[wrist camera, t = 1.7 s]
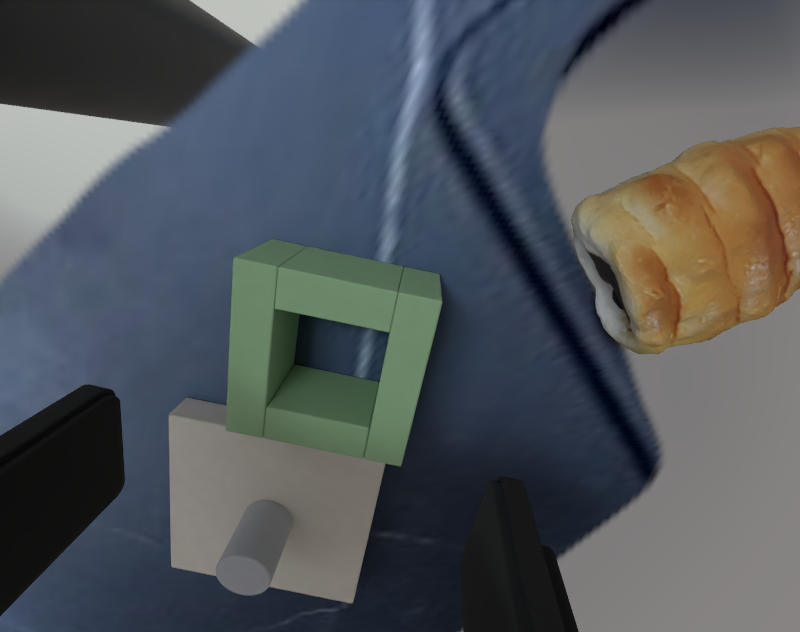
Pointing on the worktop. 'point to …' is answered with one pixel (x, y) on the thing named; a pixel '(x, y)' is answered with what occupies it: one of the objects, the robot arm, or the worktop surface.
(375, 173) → the worktop surface
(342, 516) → the base pad
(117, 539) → the worktop surface
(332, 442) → the green hollow square block
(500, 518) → the robot arm
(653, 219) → the pastry
